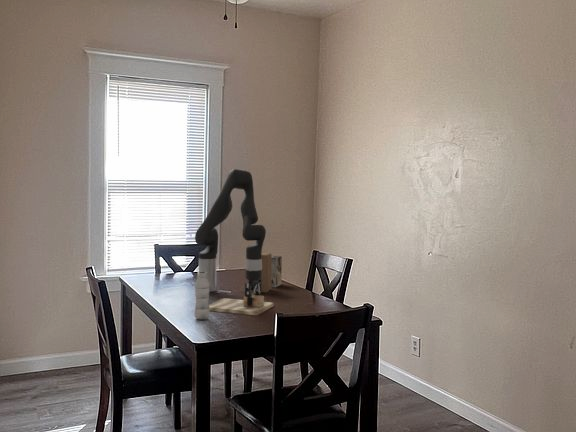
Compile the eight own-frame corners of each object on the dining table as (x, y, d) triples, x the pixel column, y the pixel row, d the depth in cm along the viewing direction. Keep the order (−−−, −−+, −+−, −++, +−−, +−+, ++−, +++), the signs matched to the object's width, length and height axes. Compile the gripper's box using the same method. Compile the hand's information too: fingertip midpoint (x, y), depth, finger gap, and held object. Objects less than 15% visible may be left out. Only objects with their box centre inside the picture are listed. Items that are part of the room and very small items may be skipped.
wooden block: (267, 293, 303) (267, 255, 301) (248, 292, 305) (248, 254, 303) (271, 289, 313) (271, 252, 311) (253, 288, 315) (253, 251, 313)
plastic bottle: (194, 317, 251) (194, 271, 249) (210, 317, 251) (210, 271, 250) (193, 321, 244) (193, 274, 243) (209, 321, 245) (210, 274, 243)
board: (204, 310, 264) (204, 306, 264) (223, 301, 283) (223, 298, 283) (257, 315, 255) (257, 312, 255) (273, 305, 274) (273, 302, 274)
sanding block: (243, 306, 266) (243, 296, 265) (247, 304, 270) (248, 294, 270) (259, 308, 263) (259, 298, 263) (263, 305, 268) (264, 296, 267)
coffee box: (270, 283, 329) (271, 255, 328) (281, 284, 327) (282, 256, 326) (265, 286, 320) (265, 257, 319) (276, 287, 318) (276, 258, 317)
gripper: (252, 265, 273) (252, 299, 275) (239, 270, 260) (239, 306, 261) (267, 266, 271) (266, 301, 272) (255, 271, 257) (255, 307, 259)
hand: (253, 303), depth 267 cm, fingers open, 8 cm apart
